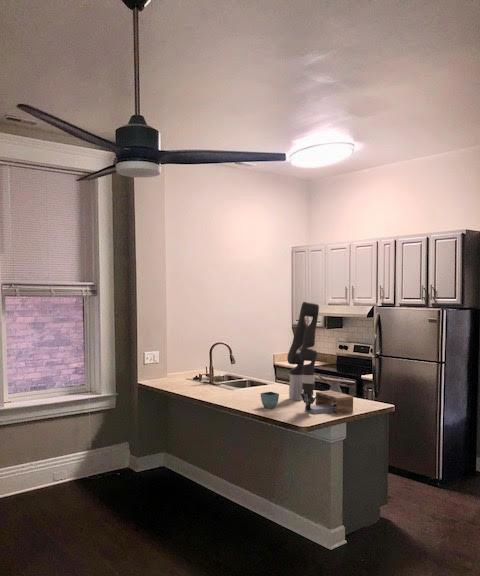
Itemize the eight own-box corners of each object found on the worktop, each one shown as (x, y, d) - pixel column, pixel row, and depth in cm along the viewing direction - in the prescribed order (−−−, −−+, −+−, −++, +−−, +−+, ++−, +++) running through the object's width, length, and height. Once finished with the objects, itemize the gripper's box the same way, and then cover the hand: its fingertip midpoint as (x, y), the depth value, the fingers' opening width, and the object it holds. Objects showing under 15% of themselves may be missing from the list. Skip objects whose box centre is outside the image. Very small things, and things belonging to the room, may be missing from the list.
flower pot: (268, 409, 312) (268, 395, 312) (259, 407, 319) (260, 393, 319) (279, 407, 317) (279, 393, 317) (270, 405, 324) (270, 391, 324)
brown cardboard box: (315, 406, 321) (315, 391, 321) (330, 404, 327) (330, 390, 327) (337, 413, 302) (337, 397, 302) (353, 411, 307) (353, 396, 308)
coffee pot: (347, 401, 339) (347, 379, 339) (335, 403, 332) (335, 380, 332) (323, 396, 356) (324, 375, 356) (312, 398, 349) (312, 376, 349)
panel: (305, 411, 310) (305, 406, 310) (326, 408, 317) (326, 403, 317) (314, 414, 301) (314, 409, 301) (335, 411, 308) (335, 406, 309)
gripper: (297, 380, 310) (297, 408, 310) (309, 384, 298) (309, 413, 298) (307, 379, 313) (307, 407, 313) (319, 383, 302) (319, 412, 301)
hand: (308, 410), depth 305 cm, fingers closed
